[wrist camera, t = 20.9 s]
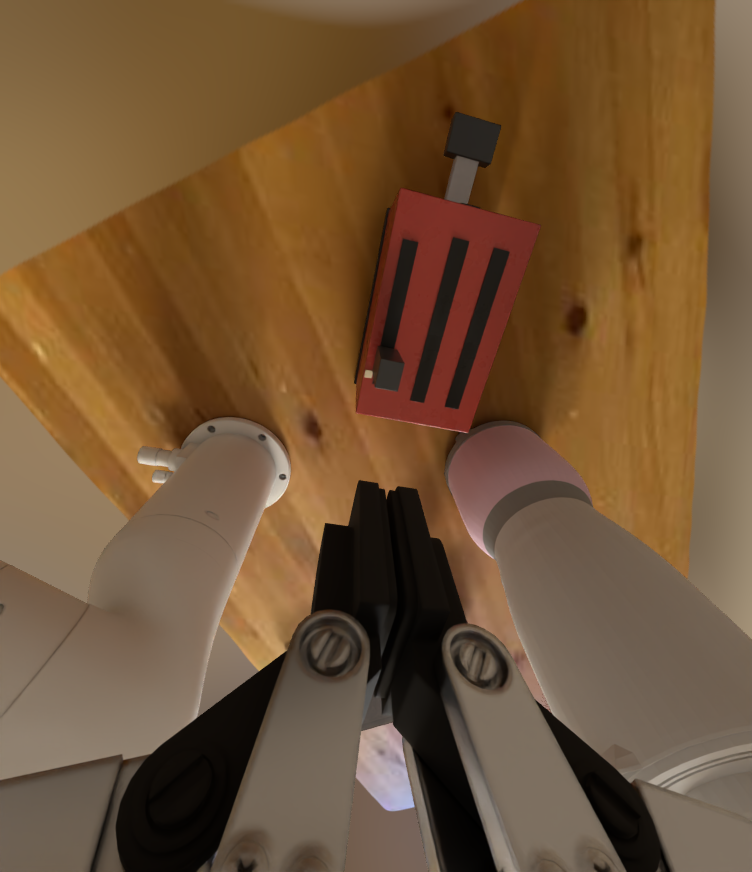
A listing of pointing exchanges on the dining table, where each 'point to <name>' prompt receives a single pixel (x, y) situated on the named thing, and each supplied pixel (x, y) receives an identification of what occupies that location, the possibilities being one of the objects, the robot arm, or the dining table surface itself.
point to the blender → (609, 622)
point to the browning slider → (387, 369)
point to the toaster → (440, 306)
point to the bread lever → (468, 153)
